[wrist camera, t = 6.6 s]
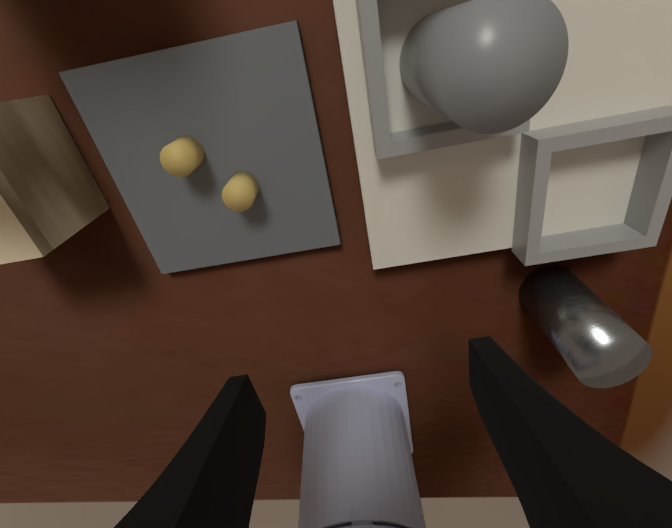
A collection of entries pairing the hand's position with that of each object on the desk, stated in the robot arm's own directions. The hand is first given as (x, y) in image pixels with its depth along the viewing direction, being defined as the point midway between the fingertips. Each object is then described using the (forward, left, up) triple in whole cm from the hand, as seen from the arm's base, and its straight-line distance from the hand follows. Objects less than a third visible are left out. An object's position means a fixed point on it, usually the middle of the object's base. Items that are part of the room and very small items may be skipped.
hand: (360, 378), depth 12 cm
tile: (+5, +5, -9) cm, 12 cm away
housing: (+7, +14, -9) cm, 19 cm away
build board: (+5, -8, -9) cm, 13 cm away
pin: (-5, -11, -9) cm, 15 cm away
